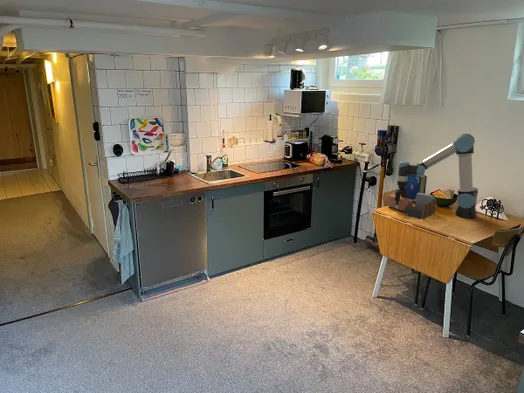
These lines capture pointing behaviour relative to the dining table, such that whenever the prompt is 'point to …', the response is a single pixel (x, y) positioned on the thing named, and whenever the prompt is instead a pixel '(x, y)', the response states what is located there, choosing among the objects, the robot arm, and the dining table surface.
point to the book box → (402, 203)
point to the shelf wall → (428, 209)
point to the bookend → (413, 211)
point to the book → (415, 186)
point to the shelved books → (423, 199)
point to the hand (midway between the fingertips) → (399, 207)
